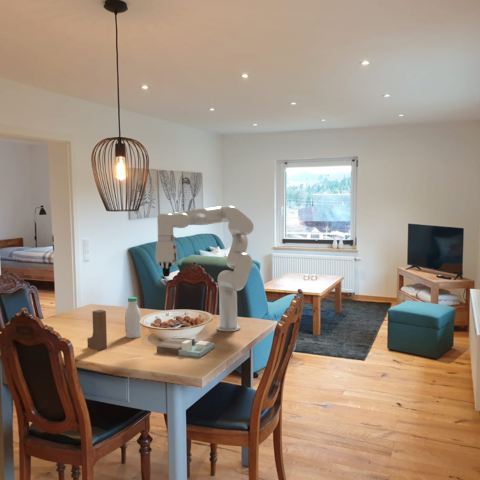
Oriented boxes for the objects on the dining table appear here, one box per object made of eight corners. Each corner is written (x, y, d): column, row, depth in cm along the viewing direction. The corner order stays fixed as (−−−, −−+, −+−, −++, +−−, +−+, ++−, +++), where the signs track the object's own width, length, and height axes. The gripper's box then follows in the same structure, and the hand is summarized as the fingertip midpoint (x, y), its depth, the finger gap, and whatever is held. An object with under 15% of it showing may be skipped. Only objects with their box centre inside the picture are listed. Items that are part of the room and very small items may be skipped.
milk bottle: (144, 335, 235) (143, 297, 234) (133, 339, 228) (132, 299, 227) (133, 333, 239) (132, 295, 237) (122, 337, 232) (121, 298, 231)
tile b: (187, 339, 209) (191, 340, 208) (187, 350, 209) (192, 351, 208) (181, 342, 204) (186, 343, 203) (181, 353, 204) (186, 354, 203)
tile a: (209, 341, 214) (209, 347, 214) (200, 340, 215) (200, 345, 216) (205, 344, 209) (205, 350, 209) (195, 343, 211) (195, 349, 211)
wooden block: (87, 347, 216) (86, 309, 215) (95, 345, 220) (94, 308, 218) (99, 350, 211) (98, 312, 209) (107, 348, 214) (106, 310, 213)
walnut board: (174, 342, 223) (174, 336, 222) (194, 345, 219) (194, 338, 218) (156, 352, 208) (156, 346, 208) (178, 355, 204) (177, 348, 204)
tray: (194, 345, 218) (194, 340, 218) (214, 347, 214) (214, 343, 214) (178, 355, 204) (178, 350, 204) (199, 357, 200) (199, 353, 200)
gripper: (182, 238, 223) (183, 275, 225) (156, 238, 229) (157, 274, 230) (175, 239, 216) (175, 278, 218) (148, 239, 222) (149, 276, 223)
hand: (166, 276), depth 224 cm, fingers closed
